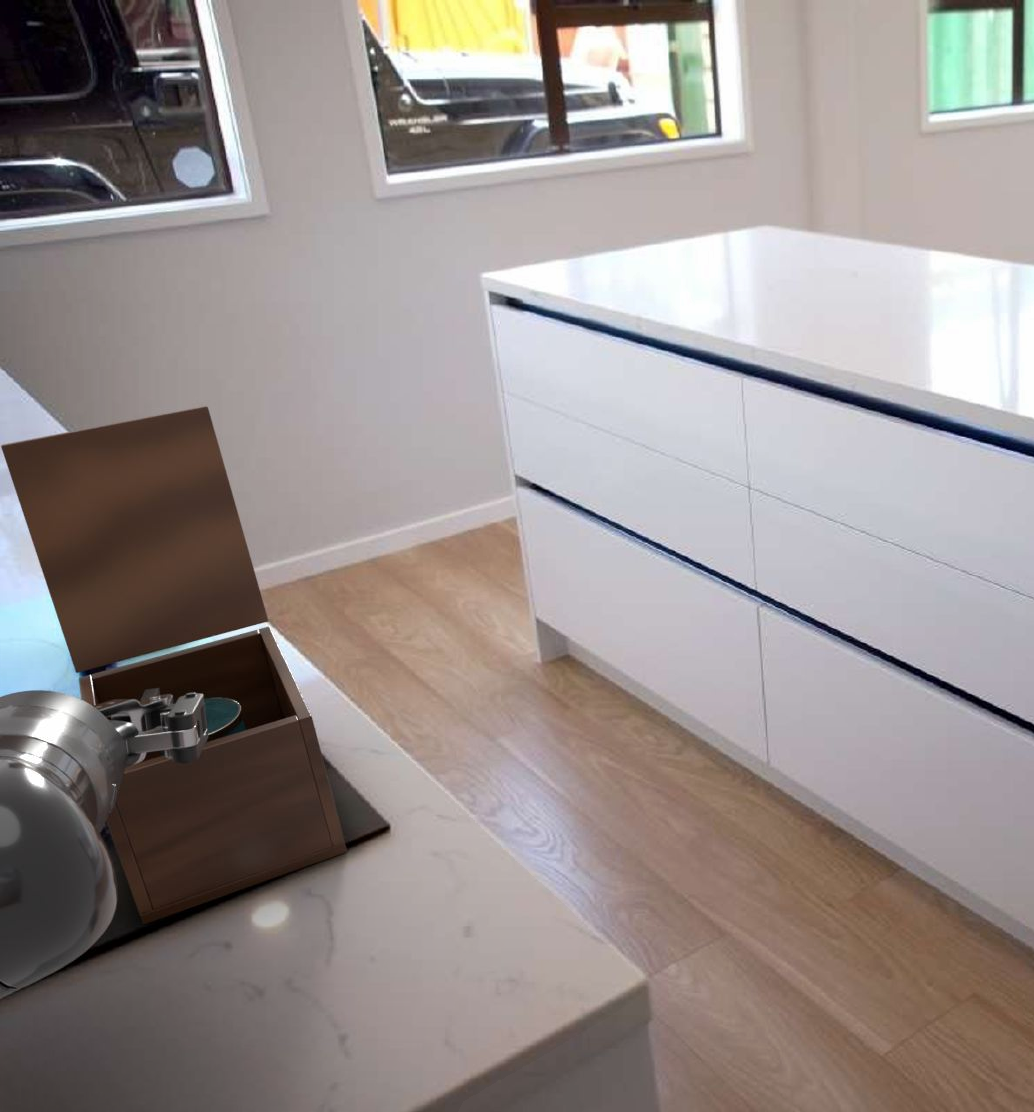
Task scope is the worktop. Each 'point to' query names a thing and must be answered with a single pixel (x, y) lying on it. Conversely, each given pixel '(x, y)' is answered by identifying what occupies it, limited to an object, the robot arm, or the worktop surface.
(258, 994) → the worktop surface
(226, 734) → the tin
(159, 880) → the bin
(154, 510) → the lid
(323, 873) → the worktop surface
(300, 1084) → the worktop surface
